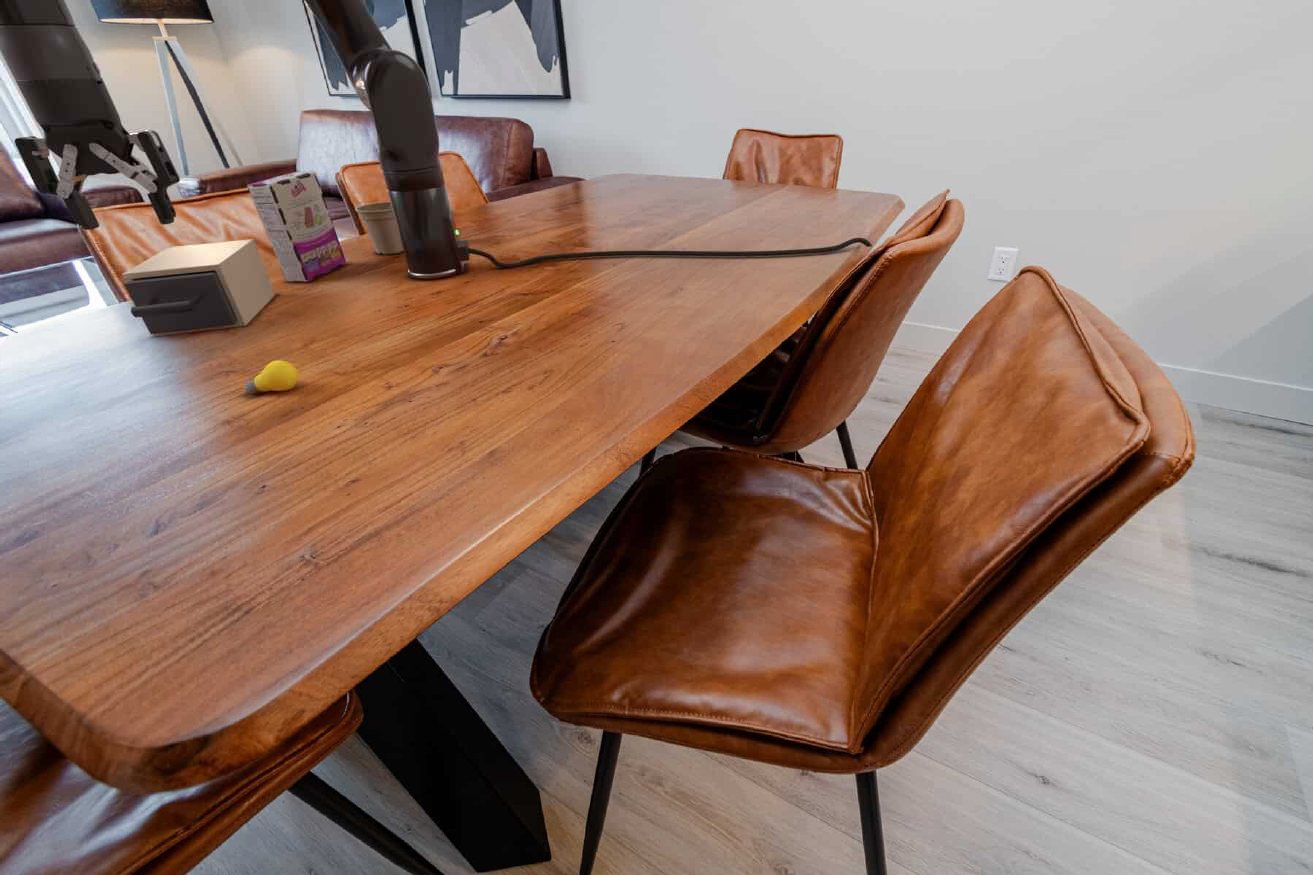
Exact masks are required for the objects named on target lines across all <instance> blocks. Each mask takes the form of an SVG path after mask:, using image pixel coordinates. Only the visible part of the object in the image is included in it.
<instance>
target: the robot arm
mask: <svg viewBox="0 0 1313 875" xmlns="http://www.w3.org/2000/svg"><path fill="white" fill-rule="evenodd" d="M303 2H304V3H305V5H306V6H307V7H308V8H309V10H310V11H311V13H312V14H313V16H314V17H315V19H316V21H317V22H318V23H319V25H320V27H321V28H322V30H323V31H324V33H325V35H326V37H327V38H328V40H329V42H330V45H331V46H332V48H333V50H334V52H335V54H336V56H337V57H338V60H339V61H340V63H341V65H342V67H343V70H344V71H345V74H346V75H347V78H348V79H349V81H350V83H351V86H352V87H353V89H354V91H355V93H356V95H357V98H358V99H359V100H360V102H361V103H362V104H363V105H364V107H365V108H366V109H367V110H369V111H370V112H371V115H372V119H373V123H374V128H375V131H376V136H377V141H378V142H377V143H378V146H377V149H378V150H377V158H378V162H379V167H380V169H381V173H382V176H383V180H384V184H385V189H386V191H387V195H388V199H389V201H390V203H391V207H392V210H393V214H394V218H395V221H396V225H397V229H398V233H399V236H400V240H401V244H402V247H403V251H402V252H403V254H404V258H405V261H406V267H407V269H408V274H409V277H410V278H413V279H417V280H436V279H441V278H442V279H443V278H447V277H451V276H454V275H458V274H460V275H461V274H463V273H464V269H465V262H468V261H470V257H471V255H476V256H479V257H483V258H486V259H488V260H489V261H490V262H491V263H492V264H493V265H494V266H496V267H498V268H502V269H513V268H514V269H515V268H519V267H524V266H528V265H531V264H535V263H538V262H546V261H555V260H556V261H557V260H565V259H566V260H567V259H578V258H579V259H581V258H596V257H599V258H600V257H627V256H629V257H630V256H634V257H635V256H638V257H639V256H641V257H642V256H643V257H644V256H648V257H649V256H653V257H654V256H658V257H659V256H661V257H662V256H663V257H664V256H665V257H669V256H670V257H672V256H673V257H677V256H678V257H777V256H778V257H779V256H795V255H796V256H797V255H813V254H823V253H825V254H826V253H832V252H836V251H839V250H842V249H845V248H847V247H849V246H851V245H854V244H857V243H860V244H862V245H864V246H865V247H867V248H871V247H873V245H872V244H871V242H870V241H869V239H866V238H864V237H854V238H851V239H848V240H846V241H844V242H842V243H839V244H837V245H833V246H832V245H831V246H824V247H815V248H800V249H782V250H781V249H779V250H745V251H744V250H742V251H741V250H740V251H739V250H738V251H733V250H732V251H731V250H730V251H729V250H726V251H725V250H724V251H723V250H606V251H604V250H603V251H602V250H601V251H583V252H571V253H570V252H569V253H557V254H548V255H547V254H546V255H540V256H539V255H538V256H535V257H531V258H528V259H525V260H522V261H518V262H513V263H508V262H507V263H505V262H501V261H499V260H497V258H495V256H493V254H490V253H488V252H486V251H483V250H479V249H475V248H471V247H470V246H469V242H468V240H467V239H466V240H460V238H459V230H458V228H457V223H456V220H455V215H454V211H453V210H452V209H451V205H450V204H451V203H450V200H449V194H448V191H447V185H446V182H445V177H444V173H443V168H442V164H441V158H440V138H439V137H440V136H439V131H438V125H437V119H436V114H435V108H434V104H433V99H432V95H431V90H430V87H429V86H430V85H429V83H428V80H427V77H426V75H425V73H424V71H423V69H422V68H421V66H420V65H419V64H418V62H417V61H416V60H415V59H414V58H412V57H411V56H410V55H409V54H407V53H404V52H403V51H400V50H396V49H393V48H392V47H391V45H390V43H389V42H388V41H387V38H385V36H384V35H383V32H382V31H381V29H380V28H379V26H378V24H377V23H376V21H375V19H374V18H373V16H372V14H371V13H370V10H369V8H368V6H367V4H366V2H365V0H303ZM76 26H77V25H76V23H75V20H74V19H73V15H72V14H71V12H70V10H69V8H68V5H67V3H66V1H65V0H0V54H1V56H2V58H3V60H4V62H5V64H6V65H7V67H8V69H9V72H10V73H11V75H12V77H13V80H14V81H15V83H16V85H17V87H18V89H19V91H20V93H21V94H22V97H23V99H24V100H25V102H26V104H27V106H28V108H29V110H30V112H31V114H32V116H33V118H34V120H35V122H36V123H37V124H38V125H39V126H40V127H41V129H42V130H43V136H44V137H37V136H35V135H29V136H22V137H16V138H15V139H14V145H15V147H16V149H17V151H18V153H19V155H20V158H21V159H22V162H23V164H24V166H25V168H26V170H27V172H28V174H29V176H30V178H31V180H32V182H33V184H34V186H35V188H36V190H37V191H38V192H39V193H41V194H43V195H47V194H49V195H54V196H57V197H58V198H60V199H61V200H62V201H63V202H64V204H65V205H66V208H67V210H68V212H69V213H70V215H71V217H72V219H73V221H74V222H75V224H76V225H77V226H80V227H81V228H82V229H83V230H85V231H93V230H95V229H98V228H99V227H100V224H99V223H100V222H99V221H98V219H97V217H96V214H95V212H94V211H93V209H92V207H91V205H90V203H89V201H88V199H87V197H86V196H85V195H81V193H82V190H83V186H84V183H85V181H86V180H87V179H88V177H89V176H95V175H96V176H97V175H100V174H104V175H117V174H120V173H121V174H122V175H124V176H125V177H126V178H128V179H130V180H133V181H135V182H136V183H137V184H138V185H140V186H141V187H142V188H144V189H145V190H146V191H148V193H147V194H146V196H147V197H148V199H149V203H150V204H151V206H152V208H153V211H154V213H155V215H156V217H157V219H158V222H159V223H160V224H161V226H162V225H170V224H172V223H174V222H175V218H176V217H177V212H176V210H175V207H174V205H173V202H172V200H171V198H170V196H169V194H168V189H169V187H171V186H174V185H175V184H178V183H179V182H180V181H181V177H180V176H179V174H178V172H177V171H178V170H176V167H175V165H174V163H173V162H172V159H171V157H170V155H169V153H168V151H167V149H166V147H165V145H164V143H163V141H162V139H161V137H160V135H159V133H158V132H157V131H155V130H153V129H150V130H148V129H147V130H142V131H139V132H136V133H130V132H128V131H127V130H126V129H125V127H124V126H123V124H122V121H121V116H120V114H119V111H118V110H117V107H116V105H115V103H114V101H113V98H112V97H111V94H110V92H109V90H108V88H107V85H106V84H105V80H104V79H103V77H102V75H101V70H100V67H99V65H98V64H97V63H96V61H95V58H94V57H93V55H92V52H91V50H90V49H89V46H88V45H87V43H86V42H85V40H84V38H83V37H82V35H81V34H80V32H79V29H78V28H77V27H76ZM134 146H136V147H137V148H138V149H139V150H140V151H141V152H143V153H145V155H146V157H147V159H148V161H149V163H150V165H151V167H152V169H153V171H152V170H150V167H149V166H148V165H147V164H145V163H144V162H143V161H141V159H139V158H137V157H136V156H135V155H134V154H133V151H134ZM50 151H51V152H52V153H53V154H54V155H56V156H57V157H58V158H60V159H61V163H60V166H59V170H58V174H56V171H55V169H54V167H53V165H52V162H51V159H50V158H49V157H50V156H51V153H50Z"/></svg>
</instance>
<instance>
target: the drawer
mask: <svg viewBox="0 0 1313 875" xmlns="http://www.w3.org/2000/svg"><path fill="white" fill-rule="evenodd" d="M123 285H124V288H125V290H126V291H127V293H128V296H129V297H130V299H131V301H132V302H133V304H134V306H131V307H130V313H131V315H132V316H133V317H134V318H141V319H142V321H143V323H144V325H145V326H146V329H147V330H148V332H149V334H150V335H154V334H159V333H167V332H176V331H184V330H193V329H201V328H210V327H218V326H227V325H235V324H236V323H237V320H236V317H235V314H234V311H233V309H232V307H231V305H230V302H229V300H228V298H227V296H226V293H225V291H224V289H223V287H222V284H221V282H220V280H219V278H218V275H217V273H216V270H214V271H205V272H195V273H185V274H175V275H166V276H156V277H146V278H141V279H139V280H136V281H128V282H126V281H125V282H124V283H123Z"/></svg>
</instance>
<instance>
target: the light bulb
mask: <svg viewBox="0 0 1313 875" xmlns="http://www.w3.org/2000/svg"><path fill="white" fill-rule="evenodd" d="M298 381H299V372H298V370H297V368H296V367H295V366H294V365H293V364H292V363H290V362H288V361H285V360H274V361H271V362H269V363H268V364H266V366H265V367H264V369H263V370H262V371H261V372H260V373H259V374H258V375H256V377H254V379H253V380H250V381H249V382H246V383H245V386H244V391H245V392H246V393H249V394H251V395H255V394H257V393H259V392H269V391H274V392H286V391H289V390H291V389H293V388H294V387H295V386H296V384H297V383H298Z"/></svg>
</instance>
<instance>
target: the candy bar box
mask: <svg viewBox="0 0 1313 875" xmlns="http://www.w3.org/2000/svg"><path fill="white" fill-rule="evenodd" d="M318 179H319V178H318V176H317V174H316V171H294V172H290V173H287V174H283V175H278V176H274V177H272V178H268V179H264V180H260V181H256V182H253V183H249V184H246V187H247V190H248V192H249V194H250V196H251V199H252V202H253V203H254V207H255V209H256V212H257V214H258V216H259V219H260V221H261V223H262V225H263V228H264V230H265V233H266V236H267V238H268V241H269V243H270V245H271V248H272V250H273V253H274V255H275V258H276V260H277V262H278V265H279V267H280V271H281V273H282V275H283V278H284V280H285V282H286V283H310V282H312V281H314V280H316V279H318V278H321V277H323V276H325V275H326V274H327V275H328V274H329V273H331V272H333V271H335V270H337V269H338V268H340V267H343V266H345V265H347V260H346V257H345V254H344V251H343V250H342V245H341V243H340V240H339V237H338V234H337V232H336V229H335V226H334V223H333V220H332V217H331V215H330V211H329V208H328V206H327V202H326V200H325V197H324V194H323V191H322V188H321V185H320V182H319V180H318Z"/></svg>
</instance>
